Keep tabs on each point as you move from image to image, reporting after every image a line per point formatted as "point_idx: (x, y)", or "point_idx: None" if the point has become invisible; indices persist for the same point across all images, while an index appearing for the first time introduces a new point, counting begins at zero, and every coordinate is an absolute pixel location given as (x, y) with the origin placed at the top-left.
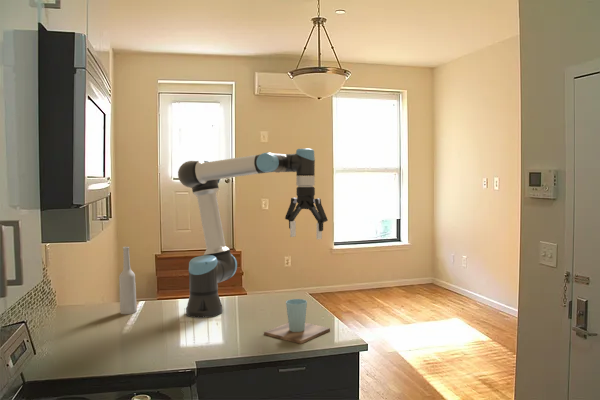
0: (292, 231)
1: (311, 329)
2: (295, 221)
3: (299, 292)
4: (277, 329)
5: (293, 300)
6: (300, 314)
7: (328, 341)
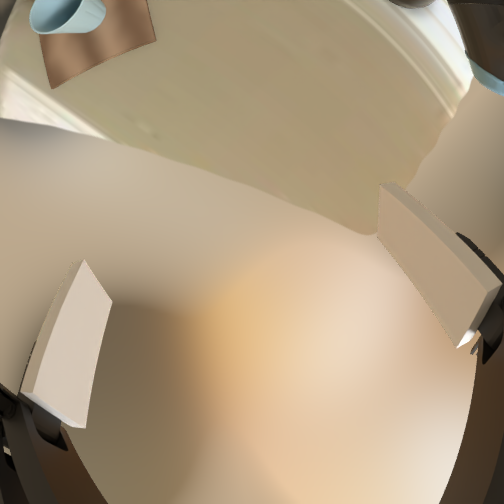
0: (408, 223)
1: (68, 46)
2: (454, 342)
3: (371, 231)
4: None
5: (82, 3)
6: (48, 12)
7: (15, 59)
